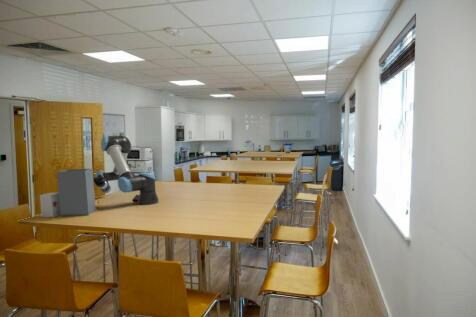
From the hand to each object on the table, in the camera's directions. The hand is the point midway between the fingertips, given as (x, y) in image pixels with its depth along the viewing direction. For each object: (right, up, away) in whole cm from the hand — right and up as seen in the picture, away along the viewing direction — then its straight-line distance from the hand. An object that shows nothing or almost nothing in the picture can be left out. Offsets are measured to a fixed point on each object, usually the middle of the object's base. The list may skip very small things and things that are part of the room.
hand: (91, 172), depth 251 cm
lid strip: (+1, -25, -4) cm, 25 cm away
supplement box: (-14, -28, -29) cm, 43 cm away
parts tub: (+3, -27, -27) cm, 38 cm away
